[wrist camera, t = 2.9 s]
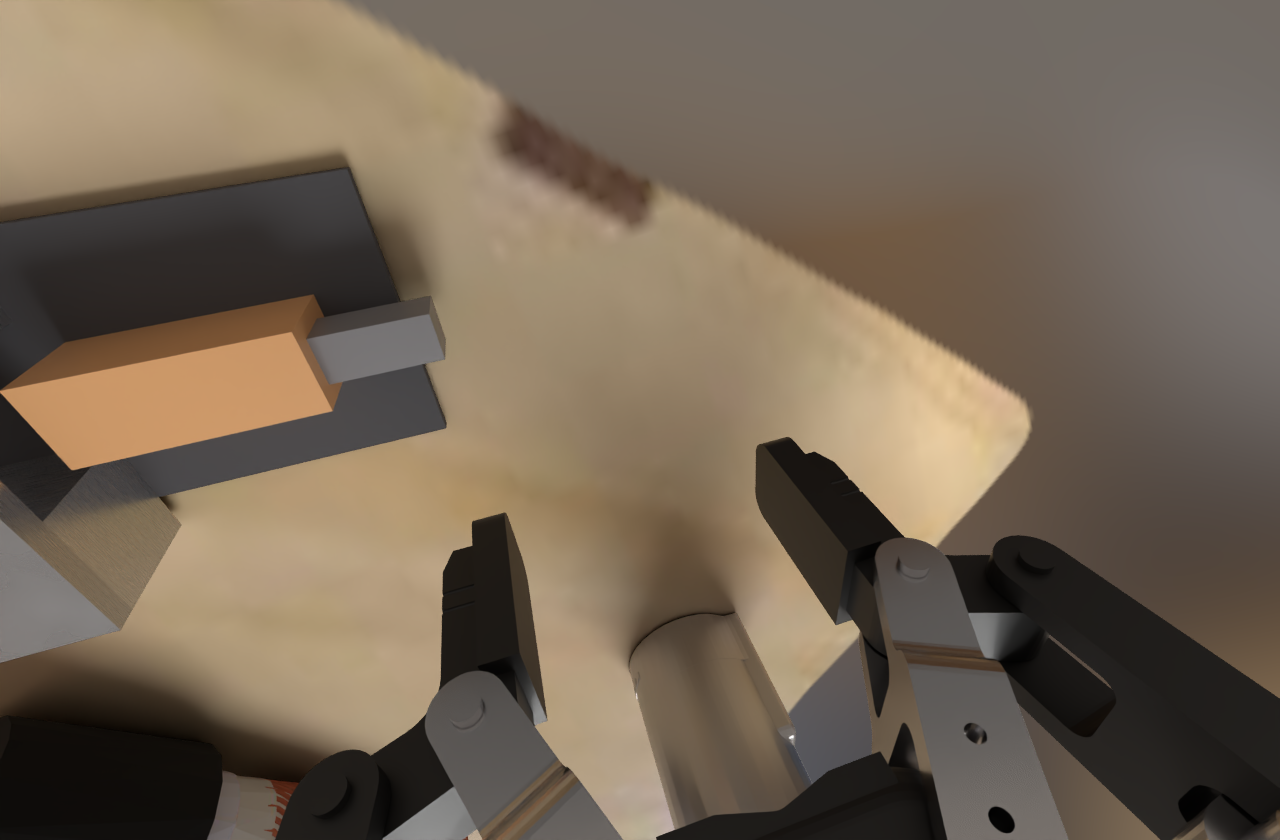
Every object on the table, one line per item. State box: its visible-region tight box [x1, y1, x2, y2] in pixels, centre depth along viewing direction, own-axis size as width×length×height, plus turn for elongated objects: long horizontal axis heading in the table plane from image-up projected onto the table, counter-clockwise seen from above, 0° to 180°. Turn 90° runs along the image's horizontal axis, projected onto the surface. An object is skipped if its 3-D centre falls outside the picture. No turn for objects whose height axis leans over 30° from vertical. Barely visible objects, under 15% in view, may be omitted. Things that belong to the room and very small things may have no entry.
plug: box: [0, 294, 446, 470], centre depth 22 cm, size 14×3×4 cm, turn 96°
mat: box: [0, 167, 446, 497], centre depth 22 cm, size 30×12×1 cm, turn 96°
